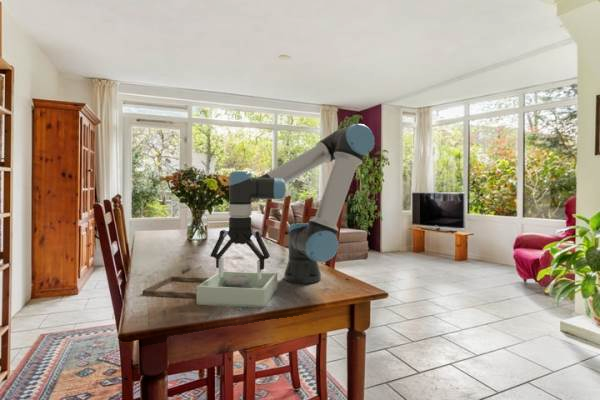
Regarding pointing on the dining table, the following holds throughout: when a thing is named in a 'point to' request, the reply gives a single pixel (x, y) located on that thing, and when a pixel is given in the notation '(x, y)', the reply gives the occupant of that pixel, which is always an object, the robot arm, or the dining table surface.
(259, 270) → the robot arm
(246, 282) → the stone
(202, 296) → the bin
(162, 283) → the frame
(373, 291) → the dining table surface
